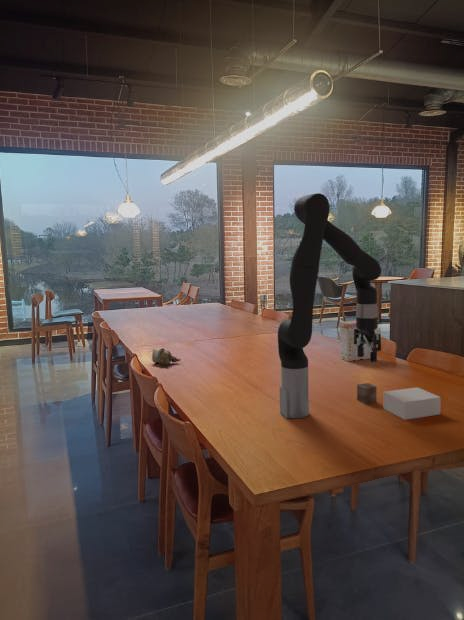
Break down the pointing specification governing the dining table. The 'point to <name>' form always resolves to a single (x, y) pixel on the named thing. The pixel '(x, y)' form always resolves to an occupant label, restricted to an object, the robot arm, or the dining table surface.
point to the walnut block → (366, 393)
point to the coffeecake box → (350, 342)
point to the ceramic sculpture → (163, 357)
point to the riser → (411, 403)
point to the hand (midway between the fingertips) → (366, 359)
